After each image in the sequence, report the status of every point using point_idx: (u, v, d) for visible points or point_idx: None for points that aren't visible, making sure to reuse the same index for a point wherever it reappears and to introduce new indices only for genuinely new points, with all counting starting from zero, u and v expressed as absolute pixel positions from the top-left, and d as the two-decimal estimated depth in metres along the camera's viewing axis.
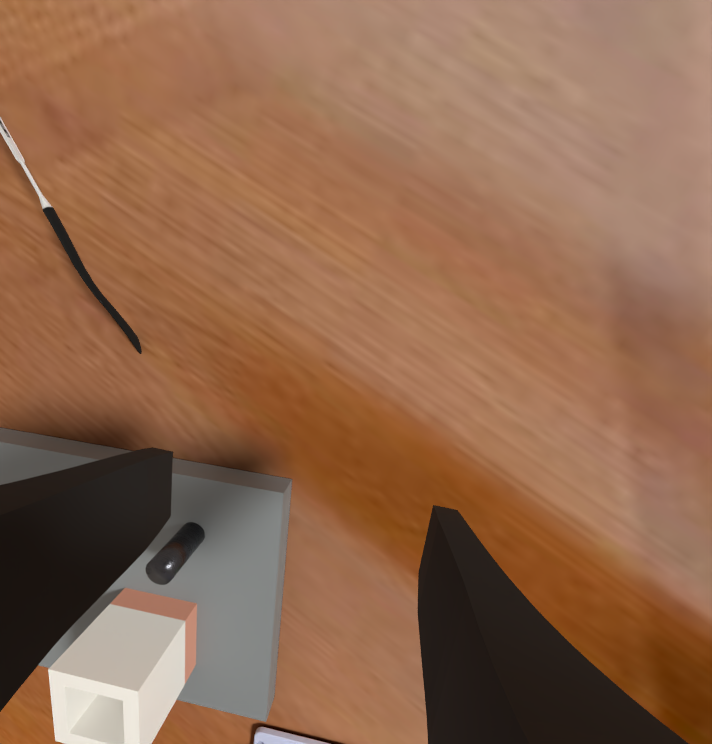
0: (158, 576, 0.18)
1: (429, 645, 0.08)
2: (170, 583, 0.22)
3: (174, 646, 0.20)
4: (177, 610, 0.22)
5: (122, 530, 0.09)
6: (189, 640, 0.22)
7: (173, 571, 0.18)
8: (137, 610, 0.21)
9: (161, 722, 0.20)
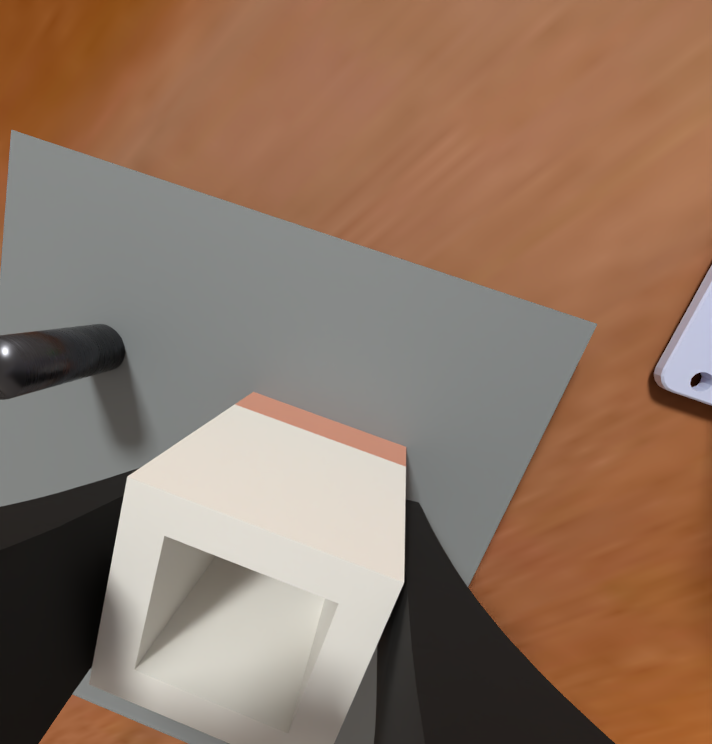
0: (4, 373, 0.08)
1: (382, 634, 0.08)
2: None
3: (240, 426, 0.09)
4: None
5: None
6: (307, 423, 0.10)
7: None
8: None
9: (394, 513, 0.07)
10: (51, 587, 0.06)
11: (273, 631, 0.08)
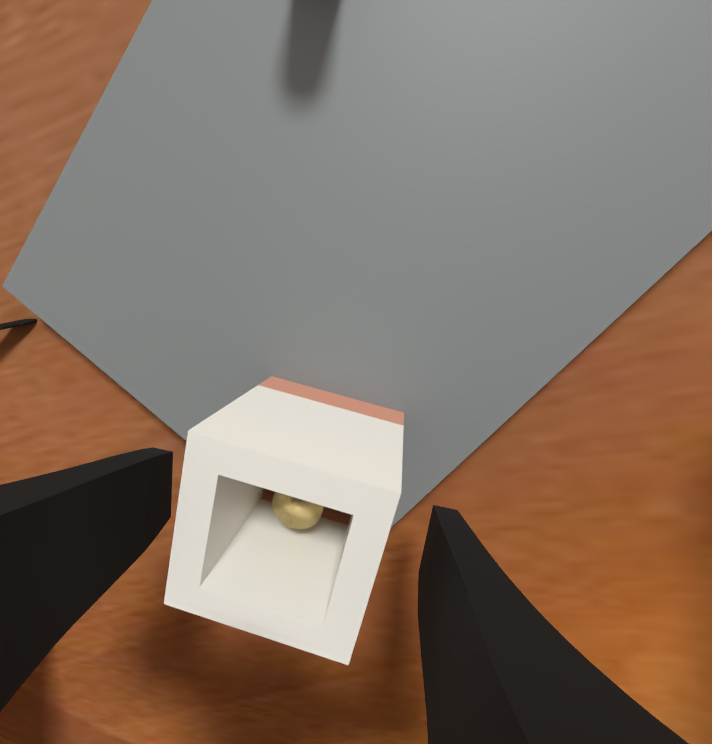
0: None
1: (429, 645, 0.08)
2: (392, 105, 0.11)
3: (265, 399, 0.11)
4: None
5: (122, 530, 0.09)
6: (319, 397, 0.12)
7: None
8: None
9: (394, 454, 0.09)
10: None
11: (304, 563, 0.10)
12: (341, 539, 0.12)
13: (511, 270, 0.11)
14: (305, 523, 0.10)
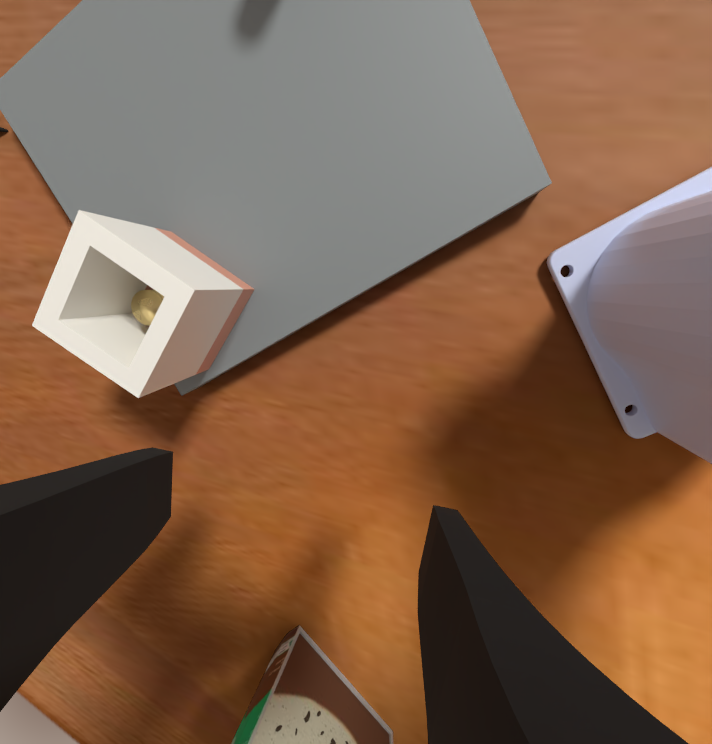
0: None
1: (429, 645, 0.08)
2: (302, 67, 0.15)
3: (150, 232, 0.15)
4: None
5: (122, 530, 0.09)
6: (196, 253, 0.17)
7: None
8: None
9: (214, 286, 0.14)
10: None
11: (139, 346, 0.15)
12: None
13: (348, 212, 0.16)
14: (149, 321, 0.15)
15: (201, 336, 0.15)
